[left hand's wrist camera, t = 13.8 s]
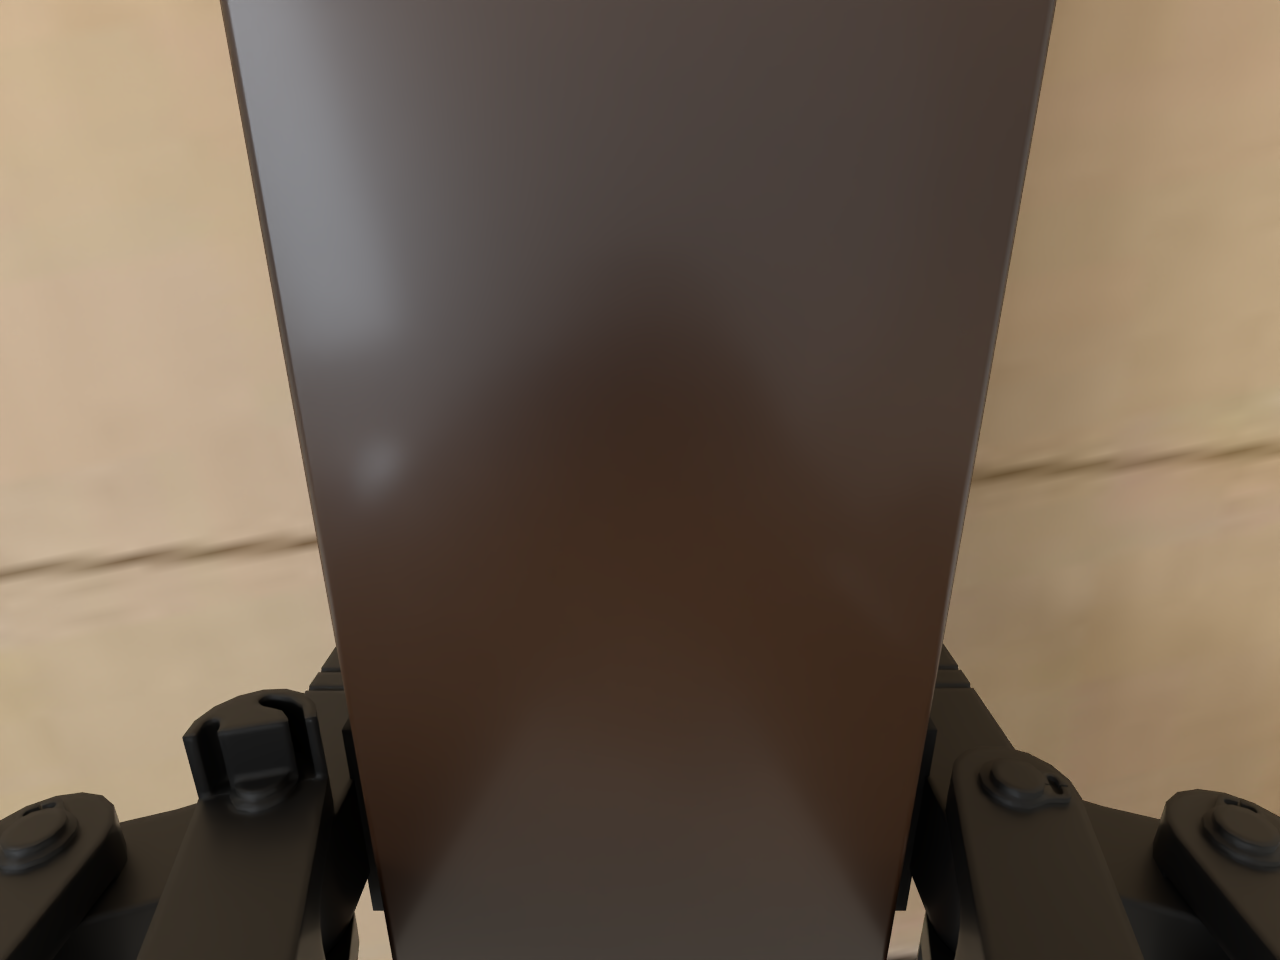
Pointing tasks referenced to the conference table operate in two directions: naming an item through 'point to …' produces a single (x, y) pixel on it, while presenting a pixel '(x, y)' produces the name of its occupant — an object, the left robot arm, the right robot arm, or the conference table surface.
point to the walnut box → (638, 438)
